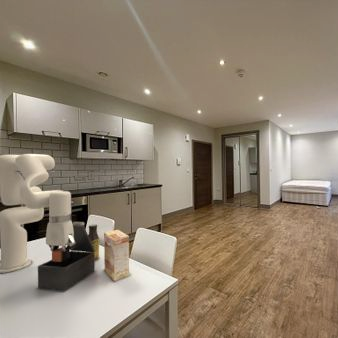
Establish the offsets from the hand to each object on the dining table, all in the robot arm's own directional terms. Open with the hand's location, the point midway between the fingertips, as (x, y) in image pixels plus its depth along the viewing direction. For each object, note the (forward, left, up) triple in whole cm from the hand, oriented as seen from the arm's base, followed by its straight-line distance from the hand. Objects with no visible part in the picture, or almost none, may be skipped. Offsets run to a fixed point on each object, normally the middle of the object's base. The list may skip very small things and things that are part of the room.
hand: (60, 258), depth 87 cm
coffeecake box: (+18, +12, -12) cm, 25 cm away
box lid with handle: (0, +8, +6) cm, 10 cm away
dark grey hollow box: (0, +4, -12) cm, 12 cm away
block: (0, 0, 0) cm, 0 cm away
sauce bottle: (-5, +23, -12) cm, 26 cm away
